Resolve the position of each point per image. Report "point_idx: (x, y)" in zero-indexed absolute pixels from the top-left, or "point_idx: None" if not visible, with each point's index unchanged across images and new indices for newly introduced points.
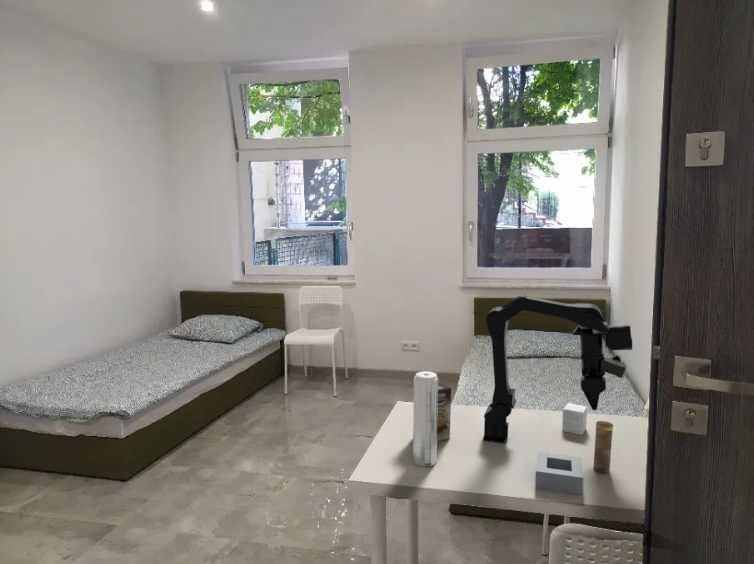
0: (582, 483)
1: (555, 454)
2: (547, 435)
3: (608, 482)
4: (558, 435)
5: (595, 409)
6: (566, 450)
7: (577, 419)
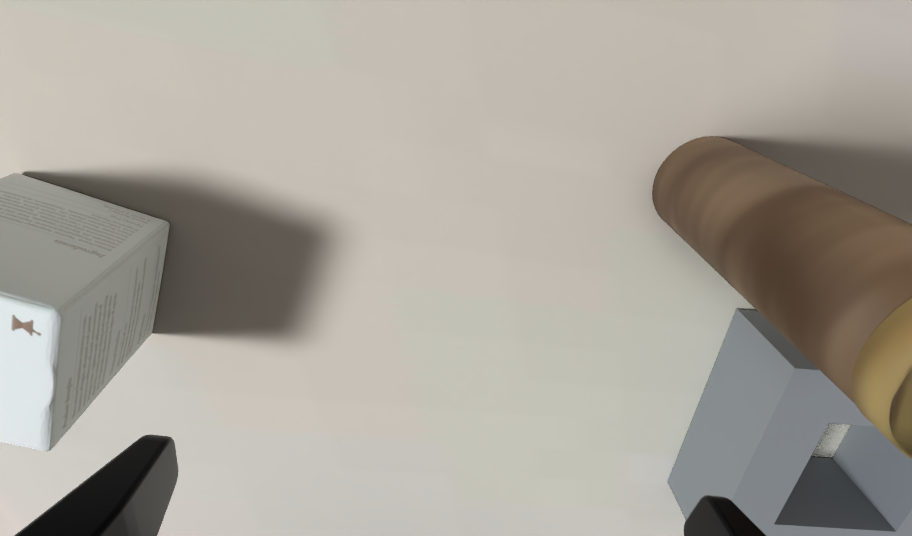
0: None
1: (742, 488)
2: (260, 415)
3: (853, 172)
4: (235, 360)
5: (724, 513)
6: (448, 341)
7: (103, 311)
